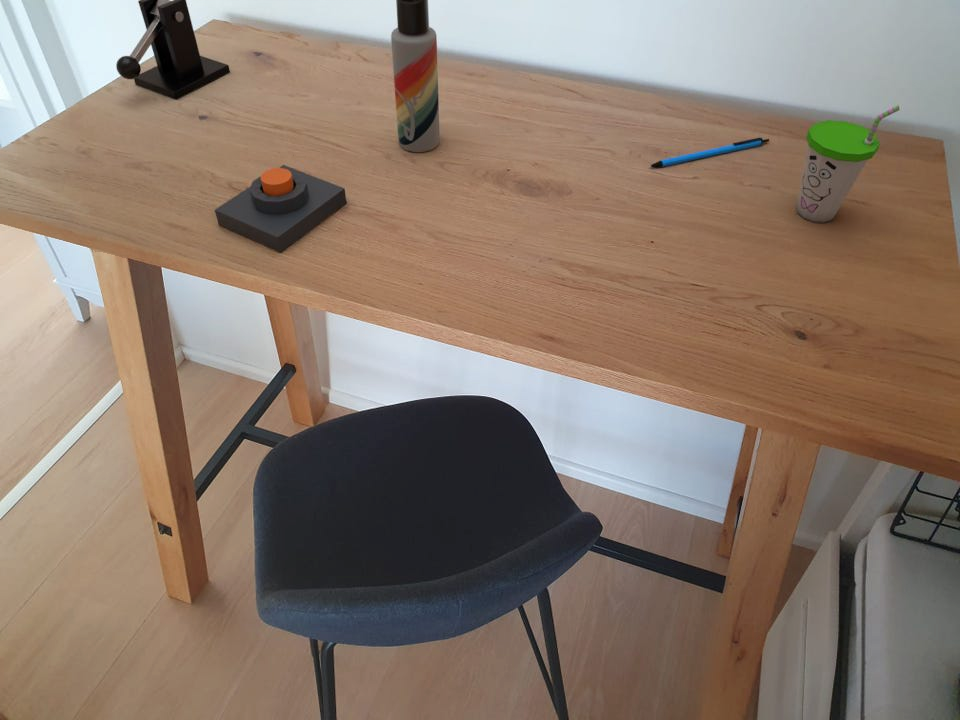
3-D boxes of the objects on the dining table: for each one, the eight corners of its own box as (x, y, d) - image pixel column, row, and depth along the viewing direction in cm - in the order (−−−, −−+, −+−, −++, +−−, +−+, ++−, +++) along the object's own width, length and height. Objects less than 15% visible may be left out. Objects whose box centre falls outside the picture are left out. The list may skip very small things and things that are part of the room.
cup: (769, 207, 96) (806, 93, 85) (809, 188, 99) (850, 76, 88) (820, 238, 91) (867, 122, 81) (861, 217, 94) (911, 102, 84)
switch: (137, 86, 111) (122, 72, 108) (122, 81, 112) (107, 66, 109) (184, 15, 113) (171, -1, 110) (169, 10, 114) (155, -6, 111)
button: (279, 200, 89) (276, 187, 88) (256, 191, 91) (253, 178, 90) (300, 186, 92) (298, 173, 90) (277, 177, 93) (275, 164, 92)
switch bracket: (176, 99, 114) (153, 19, 106) (135, 84, 117) (109, 5, 109) (230, 72, 121) (212, -6, 112) (189, 58, 124) (169, -19, 116)
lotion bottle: (393, 150, 105) (381, -2, 90) (405, 129, 108) (396, -19, 94) (433, 155, 104) (427, 3, 89) (444, 135, 108) (440, -15, 93)
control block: (280, 252, 88) (274, 224, 85) (218, 225, 92) (210, 196, 89) (346, 203, 95) (343, 175, 93) (286, 179, 99) (281, 151, 96)
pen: (769, 144, 107) (771, 137, 106) (650, 170, 102) (652, 163, 101) (765, 141, 107) (767, 134, 107) (647, 167, 102) (648, 160, 101)
